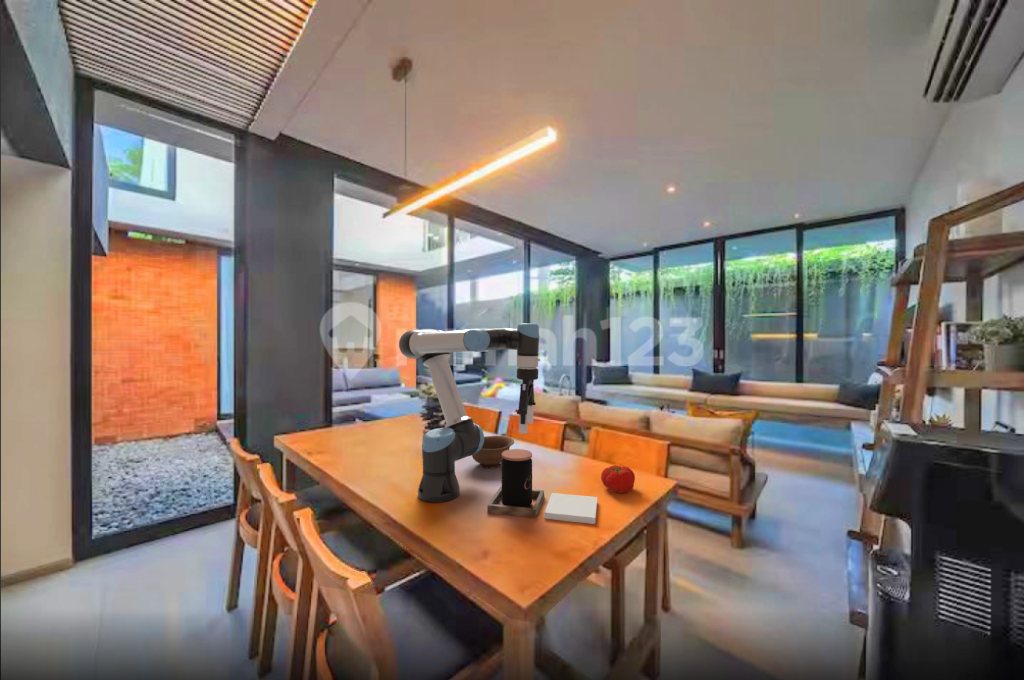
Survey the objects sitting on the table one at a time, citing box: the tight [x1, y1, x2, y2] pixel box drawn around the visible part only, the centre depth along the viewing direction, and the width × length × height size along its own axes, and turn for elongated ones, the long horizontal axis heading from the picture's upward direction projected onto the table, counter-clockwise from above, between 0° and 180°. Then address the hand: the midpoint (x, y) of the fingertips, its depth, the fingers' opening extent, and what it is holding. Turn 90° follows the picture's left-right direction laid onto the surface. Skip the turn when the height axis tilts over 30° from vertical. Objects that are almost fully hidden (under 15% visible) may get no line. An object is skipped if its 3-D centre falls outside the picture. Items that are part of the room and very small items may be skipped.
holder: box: [486, 485, 545, 519], centre depth 143 cm, size 16×16×2 cm
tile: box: [544, 492, 598, 525], centre depth 139 cm, size 16×16×2 cm
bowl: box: [471, 435, 515, 469], centre depth 184 cm, size 22×22×11 cm
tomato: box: [600, 465, 636, 494], centre depth 155 cm, size 14×13×9 cm
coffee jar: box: [501, 448, 533, 508], centre depth 143 cm, size 11×11×18 cm
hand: (526, 428), depth 144 cm, fingers open, 13 cm apart
